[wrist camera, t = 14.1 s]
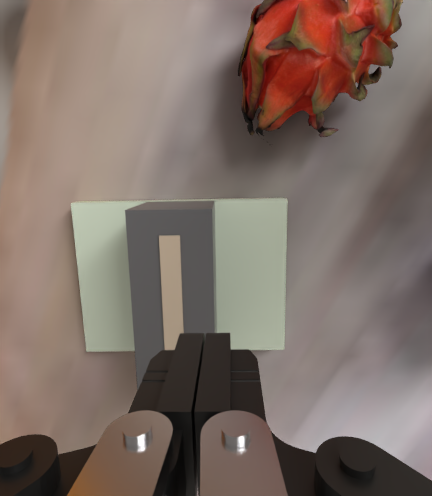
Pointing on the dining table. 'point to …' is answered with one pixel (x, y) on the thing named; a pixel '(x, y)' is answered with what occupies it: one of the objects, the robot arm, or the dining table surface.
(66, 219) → the dining table surface
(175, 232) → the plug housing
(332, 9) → the dragon fruit
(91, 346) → the board
